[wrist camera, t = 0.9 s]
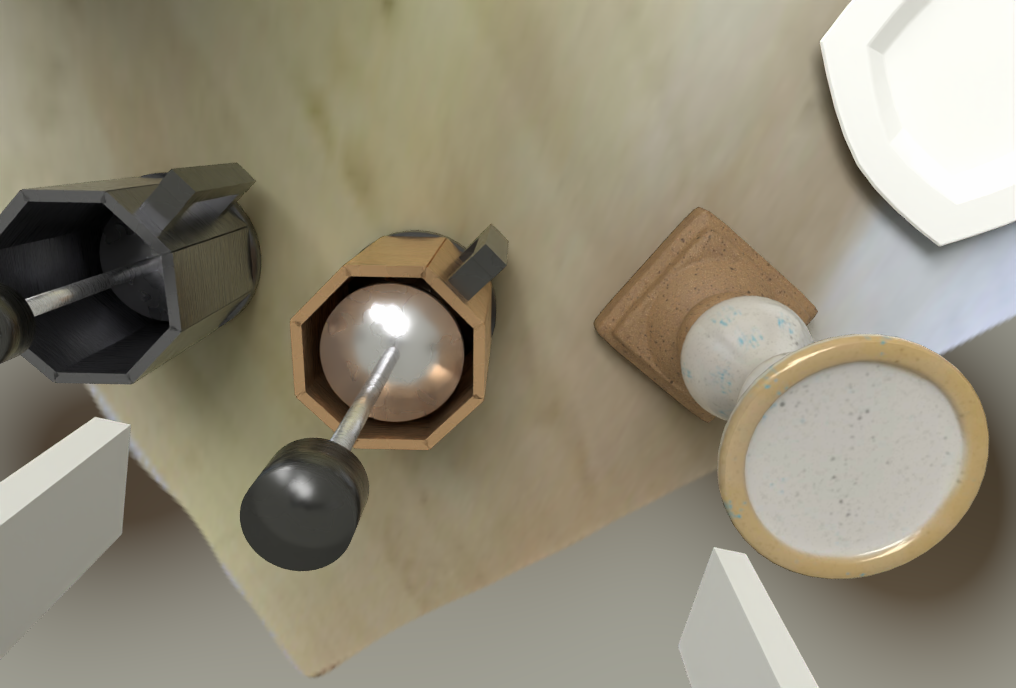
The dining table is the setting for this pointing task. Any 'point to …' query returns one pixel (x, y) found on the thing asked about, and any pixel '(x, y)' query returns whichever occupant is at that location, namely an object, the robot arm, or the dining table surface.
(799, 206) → the dining table surface
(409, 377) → the copper plunger
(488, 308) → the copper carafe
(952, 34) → the plate
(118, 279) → the steel plunger
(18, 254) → the steel carafe
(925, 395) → the candle holder
